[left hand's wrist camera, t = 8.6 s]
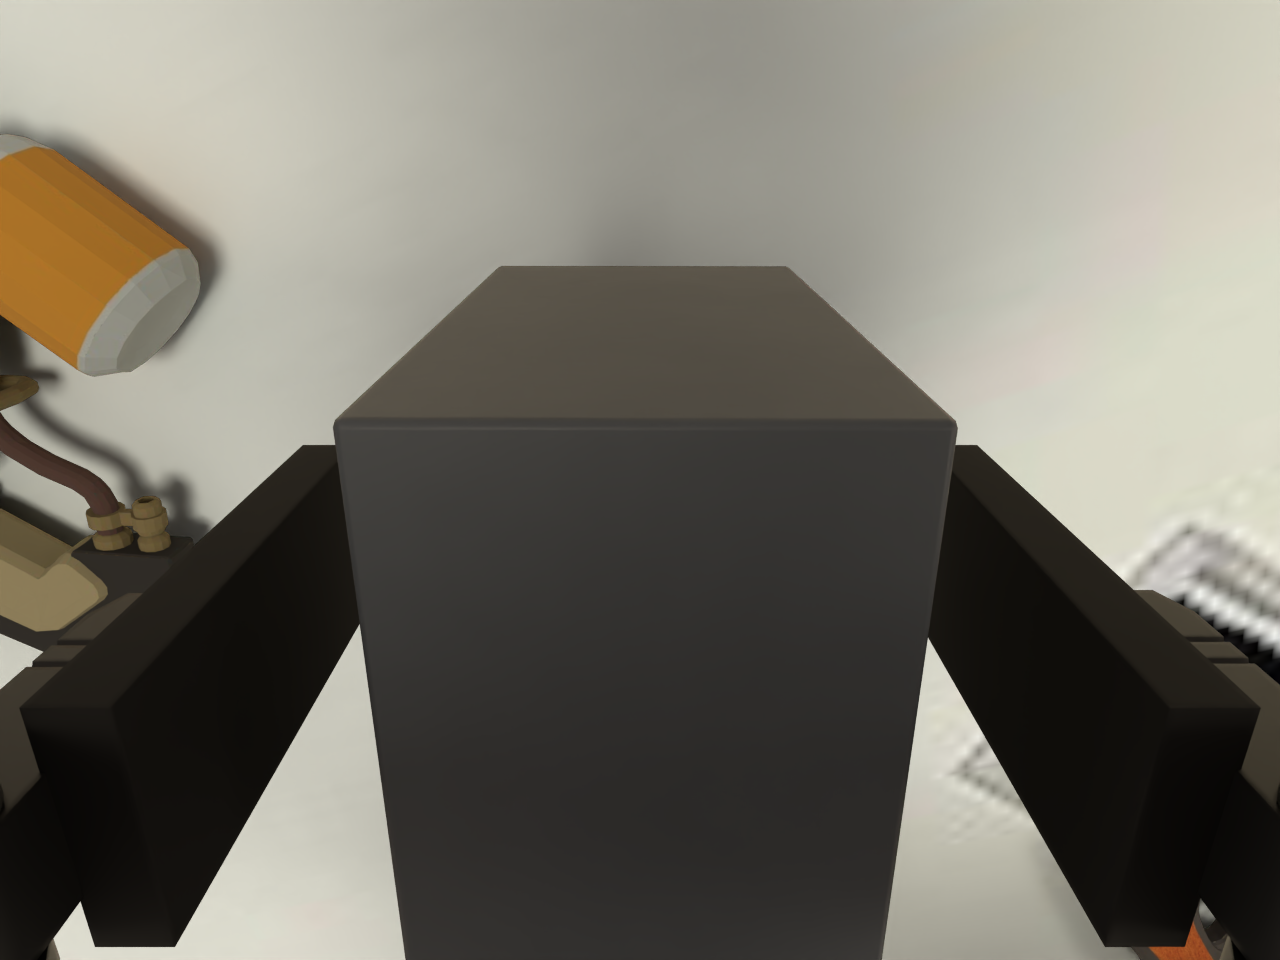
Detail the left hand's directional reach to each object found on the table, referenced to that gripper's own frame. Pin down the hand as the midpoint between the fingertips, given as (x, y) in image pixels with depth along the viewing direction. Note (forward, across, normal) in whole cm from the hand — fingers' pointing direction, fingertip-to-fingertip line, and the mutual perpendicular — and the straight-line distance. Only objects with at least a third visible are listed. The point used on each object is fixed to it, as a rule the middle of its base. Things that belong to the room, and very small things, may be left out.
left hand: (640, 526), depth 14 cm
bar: (+2, 0, -7) cm, 7 cm away
